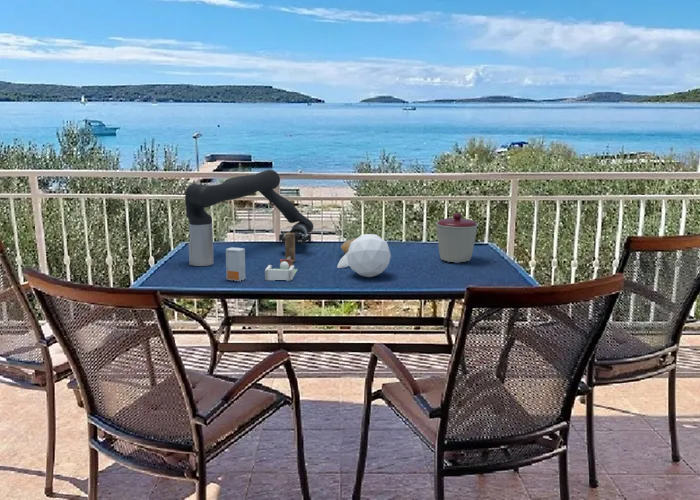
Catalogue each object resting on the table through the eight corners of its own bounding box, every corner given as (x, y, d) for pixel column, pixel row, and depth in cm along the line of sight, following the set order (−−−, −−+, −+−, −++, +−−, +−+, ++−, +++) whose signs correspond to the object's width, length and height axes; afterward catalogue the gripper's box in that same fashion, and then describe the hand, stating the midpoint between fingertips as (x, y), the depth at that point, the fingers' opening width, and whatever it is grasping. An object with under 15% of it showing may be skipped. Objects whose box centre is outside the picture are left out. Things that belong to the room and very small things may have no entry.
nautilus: (384, 253, 277) (389, 262, 262) (338, 250, 274) (341, 259, 260) (385, 236, 275) (391, 244, 260) (339, 234, 272) (342, 242, 258)
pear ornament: (378, 229, 221) (368, 218, 248) (328, 264, 222) (325, 249, 249) (402, 264, 224) (391, 249, 251) (354, 298, 225) (347, 280, 252)
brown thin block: (280, 268, 242) (279, 239, 240) (285, 260, 257) (285, 232, 255) (291, 268, 242) (290, 239, 240) (296, 260, 257) (295, 232, 254)
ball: (279, 271, 238) (279, 262, 237) (280, 269, 241) (280, 260, 240) (288, 271, 238) (288, 262, 237) (289, 269, 241) (289, 260, 240)
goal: (265, 280, 225) (264, 269, 224) (268, 275, 233) (268, 265, 232) (291, 280, 225) (291, 270, 224) (294, 275, 232) (294, 265, 232)
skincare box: (226, 280, 225) (225, 249, 222) (232, 277, 229) (231, 246, 226) (240, 281, 223) (239, 250, 220) (246, 279, 226) (245, 248, 224)
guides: (280, 267, 245) (279, 260, 244) (280, 266, 246) (280, 259, 245) (292, 268, 244) (292, 260, 244) (293, 267, 246) (293, 260, 245)
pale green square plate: (268, 274, 233) (268, 274, 233) (273, 269, 242) (273, 268, 242) (294, 275, 233) (294, 274, 233) (297, 269, 242) (297, 268, 242)
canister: (464, 267, 247) (467, 217, 243) (426, 261, 258) (428, 213, 253) (483, 260, 261) (486, 212, 257) (446, 254, 272) (448, 208, 268)
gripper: (282, 225, 279) (277, 231, 263) (313, 226, 278) (309, 232, 262) (283, 241, 280) (277, 248, 264) (313, 242, 279) (309, 249, 264)
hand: (293, 240), depth 263 cm, fingers open, 8 cm apart
